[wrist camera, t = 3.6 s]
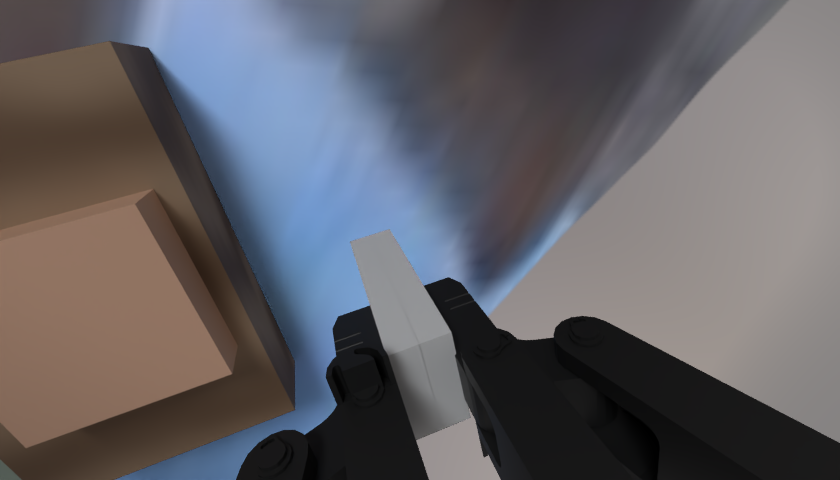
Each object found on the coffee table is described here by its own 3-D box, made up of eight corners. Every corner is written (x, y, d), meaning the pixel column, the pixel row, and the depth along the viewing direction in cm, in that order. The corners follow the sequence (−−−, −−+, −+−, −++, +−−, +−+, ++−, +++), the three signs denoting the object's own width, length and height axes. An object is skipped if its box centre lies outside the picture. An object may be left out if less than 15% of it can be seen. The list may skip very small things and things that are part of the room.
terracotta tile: (-87, 253, 14) (-143, 279, 12) (153, 188, 15) (134, 203, 13) (53, 409, 17) (26, 447, 16) (238, 345, 19) (232, 374, 17)
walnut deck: (-192, 119, 15) (-347, 134, 11) (148, 47, 17) (109, 41, 13) (86, 437, 22) (48, 504, 19) (294, 361, 25) (295, 409, 21)
